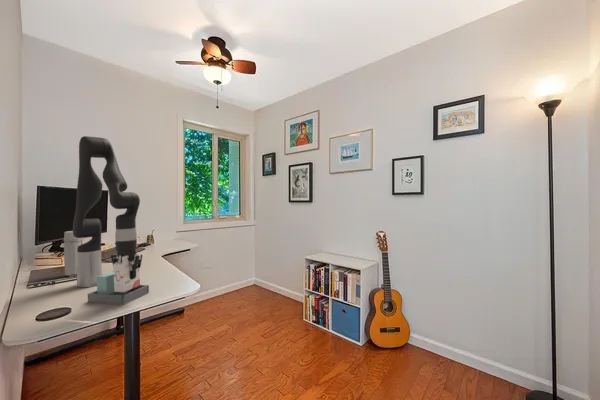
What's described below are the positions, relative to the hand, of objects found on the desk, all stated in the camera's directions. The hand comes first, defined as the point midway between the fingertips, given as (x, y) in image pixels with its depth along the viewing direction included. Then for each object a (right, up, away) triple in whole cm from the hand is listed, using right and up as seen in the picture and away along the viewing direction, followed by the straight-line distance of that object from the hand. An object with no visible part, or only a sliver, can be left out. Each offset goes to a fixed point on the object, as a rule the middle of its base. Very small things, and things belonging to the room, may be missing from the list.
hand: (127, 278), depth 110 cm
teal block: (-8, -8, +2) cm, 12 cm away
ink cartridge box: (0, -5, 0) cm, 5 cm away
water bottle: (-54, -9, +36) cm, 66 cm away
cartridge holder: (-4, -9, +1) cm, 10 cm away
